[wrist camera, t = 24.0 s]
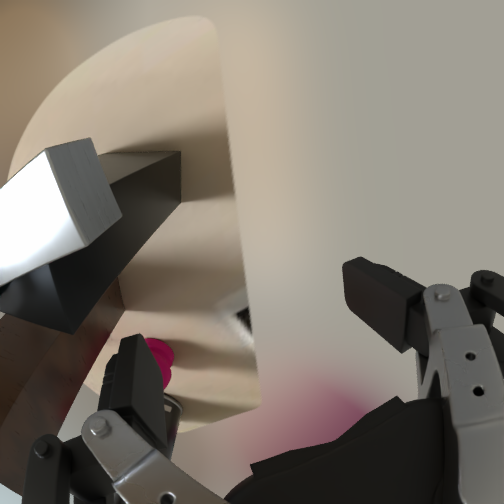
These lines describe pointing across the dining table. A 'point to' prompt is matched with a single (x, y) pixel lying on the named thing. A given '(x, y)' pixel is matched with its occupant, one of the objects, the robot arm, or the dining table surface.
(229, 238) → the dining table surface
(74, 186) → the handle bar
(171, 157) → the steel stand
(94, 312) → the plinth
